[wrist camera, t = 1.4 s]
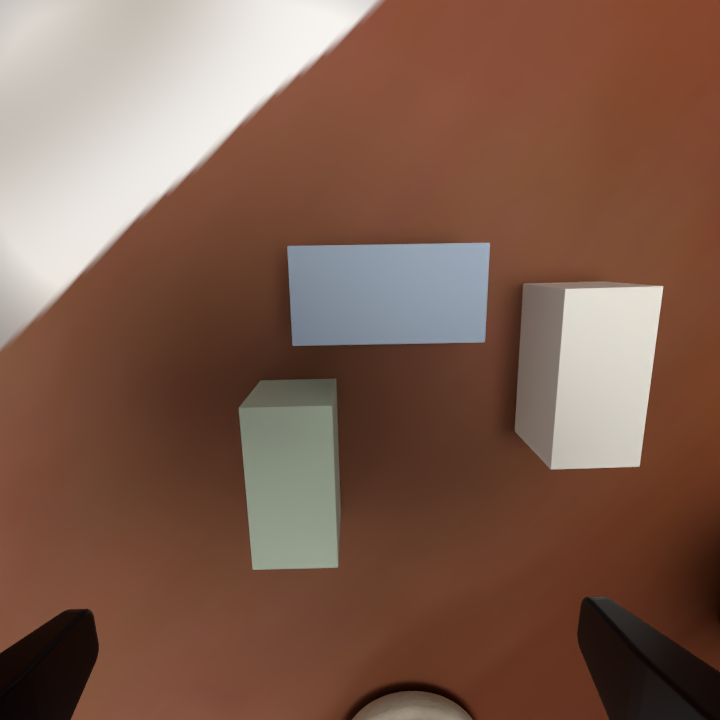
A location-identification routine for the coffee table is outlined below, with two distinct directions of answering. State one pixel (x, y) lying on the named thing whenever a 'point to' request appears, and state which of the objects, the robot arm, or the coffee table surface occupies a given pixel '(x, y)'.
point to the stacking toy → (412, 708)
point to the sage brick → (292, 473)
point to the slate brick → (388, 293)
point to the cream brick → (586, 371)
